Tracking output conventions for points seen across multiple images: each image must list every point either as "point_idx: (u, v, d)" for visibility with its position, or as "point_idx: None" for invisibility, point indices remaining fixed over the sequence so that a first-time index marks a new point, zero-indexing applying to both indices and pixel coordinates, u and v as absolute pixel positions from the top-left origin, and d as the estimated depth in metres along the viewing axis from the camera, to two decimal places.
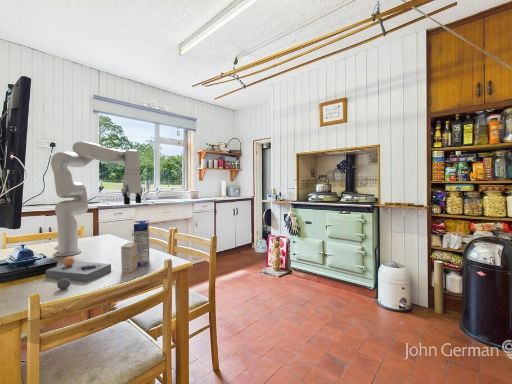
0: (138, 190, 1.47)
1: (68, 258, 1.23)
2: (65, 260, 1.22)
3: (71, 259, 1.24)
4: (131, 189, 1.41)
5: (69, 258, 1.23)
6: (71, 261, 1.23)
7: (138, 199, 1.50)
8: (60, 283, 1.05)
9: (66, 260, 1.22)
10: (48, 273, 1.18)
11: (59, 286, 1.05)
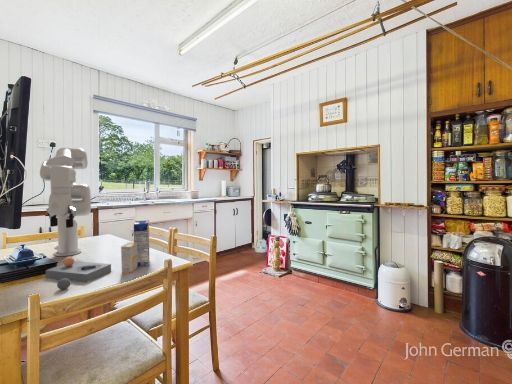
0: None
1: (68, 258, 1.23)
2: (65, 260, 1.22)
3: (71, 259, 1.24)
4: None
5: (69, 258, 1.23)
6: (71, 261, 1.23)
7: (55, 222, 1.29)
8: (60, 283, 1.05)
9: (66, 260, 1.22)
10: (48, 273, 1.18)
11: (59, 286, 1.05)
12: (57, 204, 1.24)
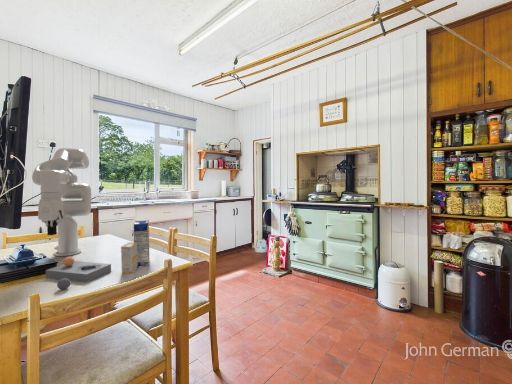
0: None
1: (68, 258, 1.23)
2: (65, 260, 1.22)
3: (71, 259, 1.24)
4: None
5: (69, 258, 1.23)
6: (71, 261, 1.23)
7: None
8: (60, 283, 1.05)
9: (66, 260, 1.22)
10: (48, 273, 1.18)
11: (59, 286, 1.05)
12: (48, 209, 1.22)
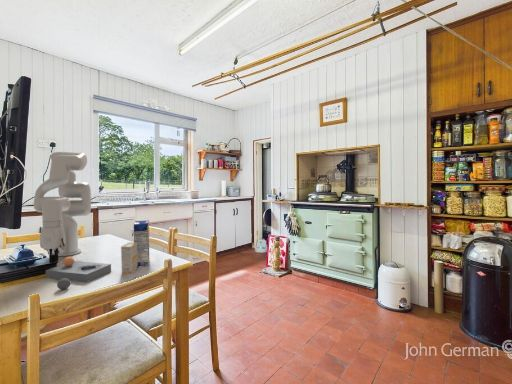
0: None
1: (68, 258, 1.23)
2: (65, 260, 1.22)
3: (71, 259, 1.24)
4: None
5: (69, 258, 1.23)
6: (71, 261, 1.23)
7: None
8: (60, 283, 1.05)
9: (66, 260, 1.22)
10: (48, 273, 1.18)
11: (59, 286, 1.05)
12: (49, 238, 1.22)
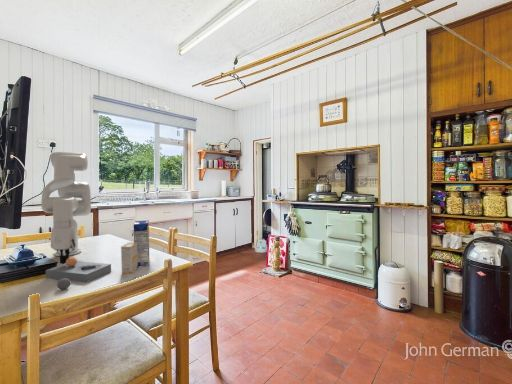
0: None
1: (71, 259, 1.23)
2: (68, 260, 1.22)
3: (74, 260, 1.23)
4: None
5: (72, 259, 1.23)
6: (74, 262, 1.23)
7: None
8: (60, 283, 1.05)
9: (69, 261, 1.22)
10: (48, 273, 1.18)
11: (59, 286, 1.05)
12: (60, 238, 1.21)
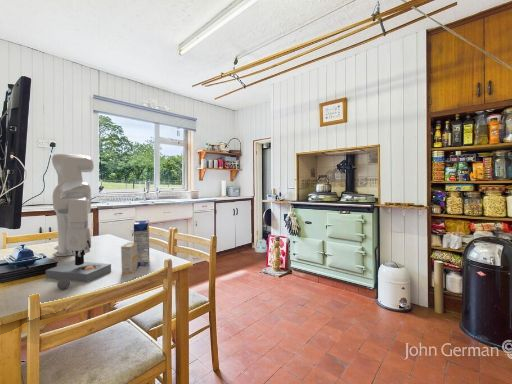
0: None
1: None
2: None
3: None
4: None
5: None
6: None
7: None
8: (60, 283, 1.05)
9: None
10: (48, 273, 1.18)
11: (59, 286, 1.05)
12: (76, 240, 1.19)
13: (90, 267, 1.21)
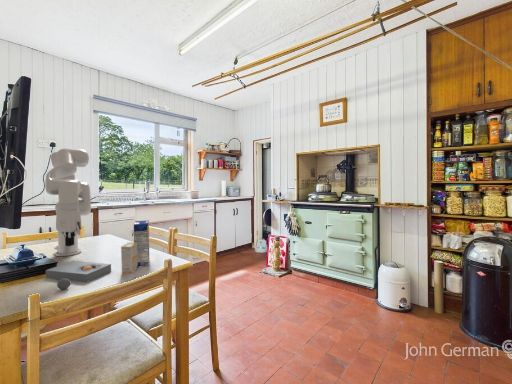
0: None
1: None
2: None
3: None
4: None
5: None
6: None
7: None
8: (60, 283, 1.05)
9: None
10: (48, 273, 1.18)
11: (59, 286, 1.05)
12: (66, 221, 1.20)
13: (85, 266, 1.22)
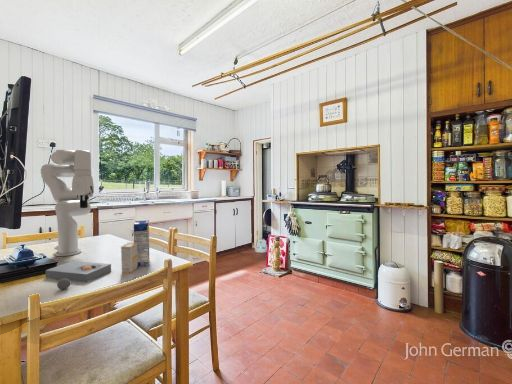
0: None
1: None
2: None
3: None
4: None
5: None
6: None
7: None
8: (60, 283, 1.05)
9: None
10: (48, 273, 1.18)
11: (59, 286, 1.05)
12: (80, 185, 1.38)
13: (85, 266, 1.22)
